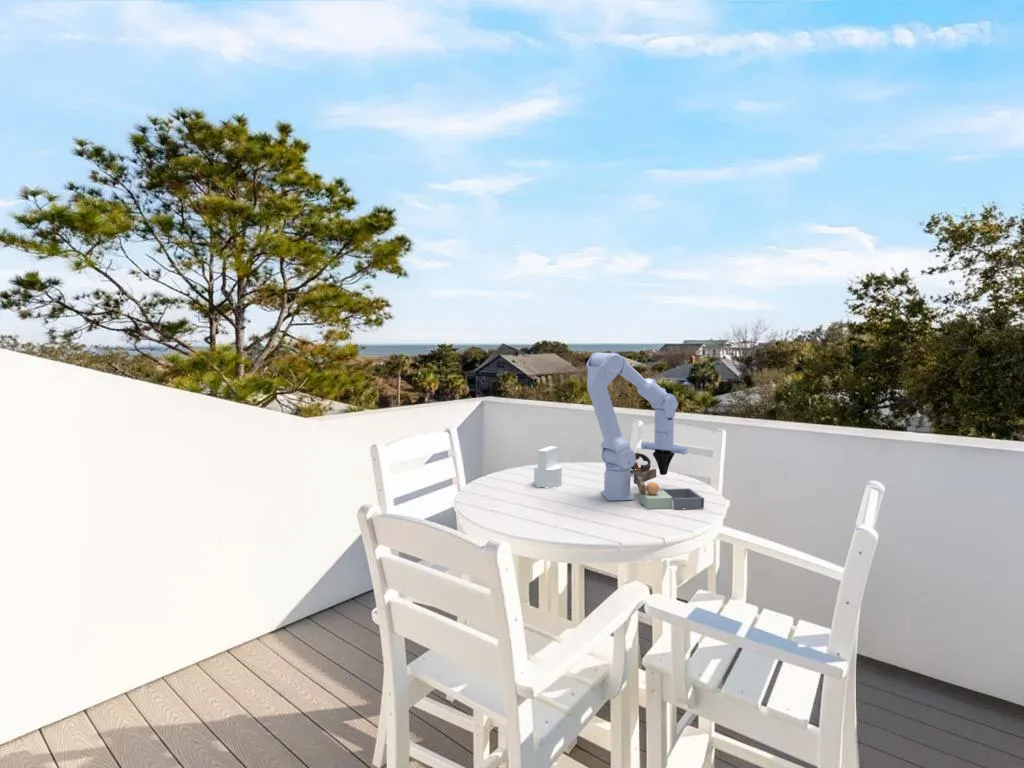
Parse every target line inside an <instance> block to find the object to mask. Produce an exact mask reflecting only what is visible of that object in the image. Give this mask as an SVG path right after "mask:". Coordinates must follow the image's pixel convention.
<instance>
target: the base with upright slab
mask: <svg viewBox="0 0 1024 768" xmlns="http://www.w3.org/2000/svg"><path fill="white" fill-rule="evenodd" d="M562 468H563V467H562V465H560V464H559V446H554V445H549V446H547V447H543V448H540V449H538V450H537V464H536V465H534V466H533V476H534V477H533V485H534V484H535V485H536V486H539V487H538V488H540V487H548V488H547V489H554V488H553V487H557V488H560V487H562V484H563V479H562V478H563V477H562V476H563V474H562V472H563V471H562V470H563V469H562ZM535 485H534V486H535ZM536 486H535V487H536ZM559 486H560V487H559Z"/></svg>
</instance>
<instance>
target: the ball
mask: <svg viewBox="0 0 1024 768" xmlns="http://www.w3.org/2000/svg"><path fill="white" fill-rule="evenodd" d="M659 490H660V486H659V485H658V483H657V482H655V481H650V482H648V483H647V484H646V491H647V492H648V493H649V494H652V495H654V494H656V493H658V491H659Z"/></svg>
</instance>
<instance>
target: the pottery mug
mask: <svg viewBox="0 0 1024 768" xmlns="http://www.w3.org/2000/svg"><path fill="white" fill-rule="evenodd" d="M634 453H635V456H636V460H635V463H634V465H633V467H632V469H631V470H633V471H635V472H634V473H642V472H645V471H648V470H651V468H652V467H651V462H652V461H651V459H650V458H649V457H648V456H647V455H645V454H644V453H640V452H634ZM640 458H641V459H642V461H644V462H647V464H640V466H639V464H638V462H637V460H639V459H640ZM635 469H636V470H635Z"/></svg>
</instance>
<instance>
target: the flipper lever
mask: <svg viewBox="0 0 1024 768" xmlns="http://www.w3.org/2000/svg"><path fill="white" fill-rule="evenodd" d="M655 478H657V468H650V469H649V470H648V471H645V472H642V473H635V472H633V484H634V485H637V489H638V491H640V493H641V495H646V491H647V490H646V486H647V484H646V483H645V482H648V481H650V480H652V479H655Z"/></svg>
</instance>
